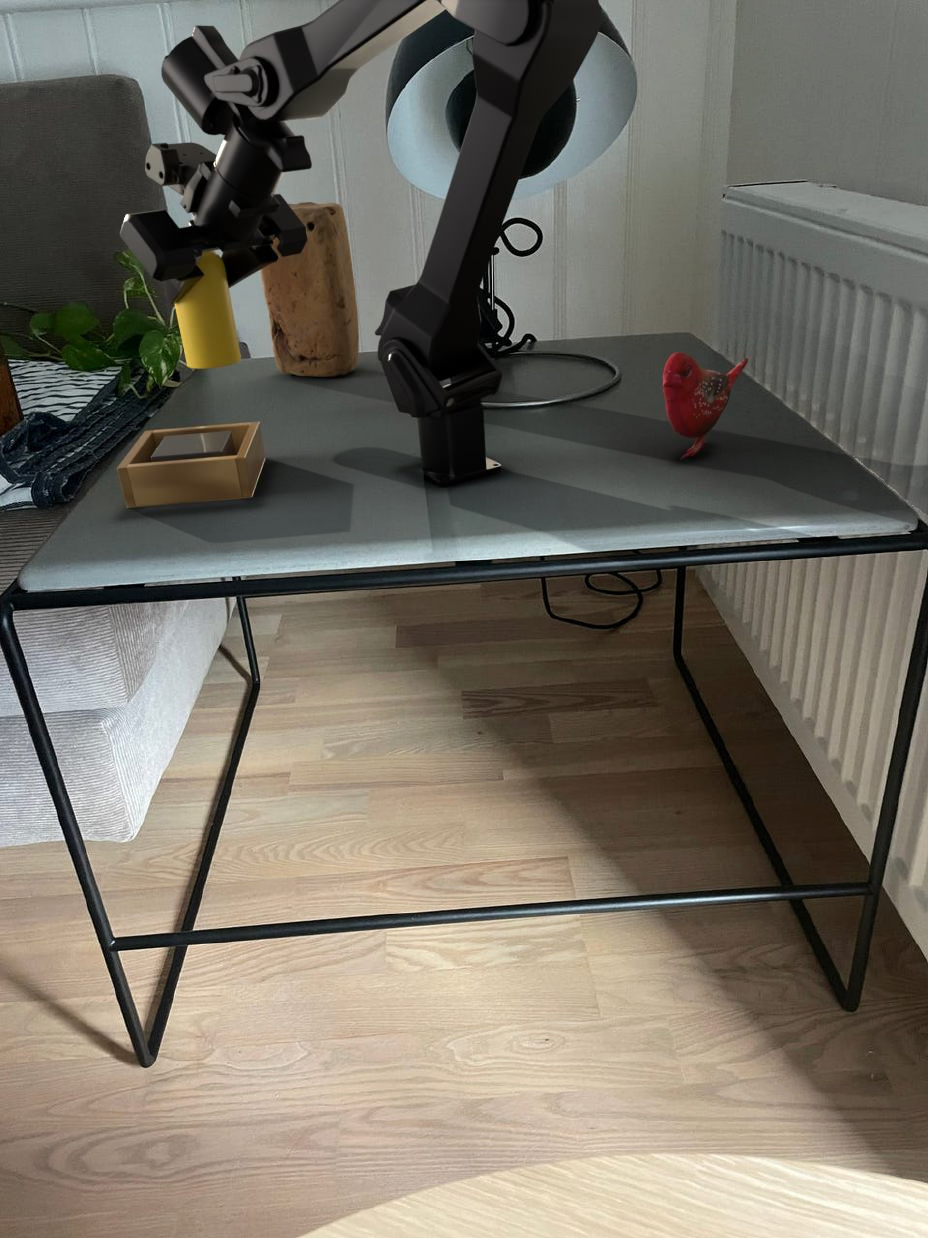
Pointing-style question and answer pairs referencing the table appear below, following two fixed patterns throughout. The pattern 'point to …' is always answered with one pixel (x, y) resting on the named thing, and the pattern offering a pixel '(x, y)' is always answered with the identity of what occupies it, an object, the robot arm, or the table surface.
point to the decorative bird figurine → (695, 396)
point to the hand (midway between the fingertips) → (193, 295)
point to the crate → (192, 469)
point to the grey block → (194, 446)
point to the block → (314, 298)
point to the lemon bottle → (208, 318)
